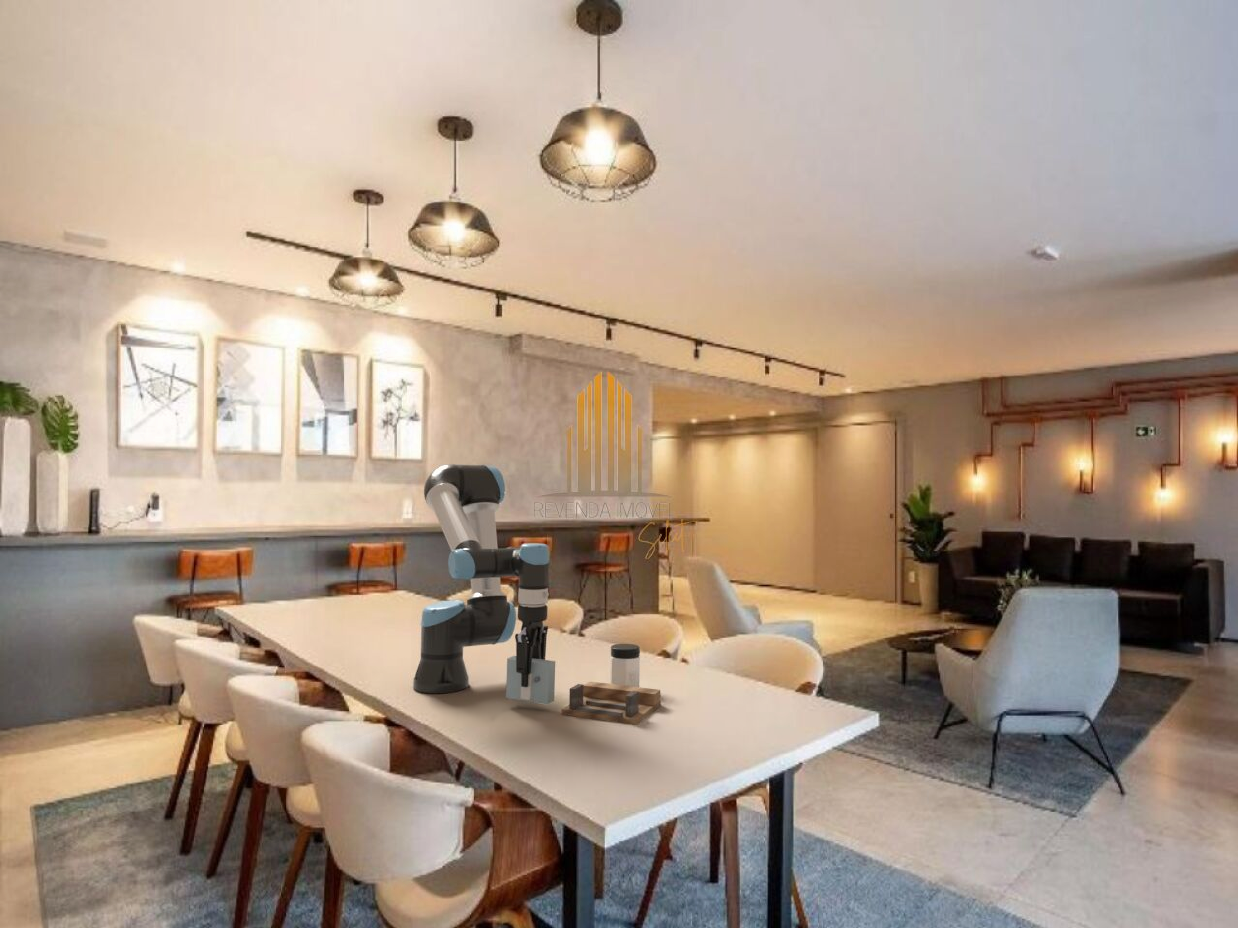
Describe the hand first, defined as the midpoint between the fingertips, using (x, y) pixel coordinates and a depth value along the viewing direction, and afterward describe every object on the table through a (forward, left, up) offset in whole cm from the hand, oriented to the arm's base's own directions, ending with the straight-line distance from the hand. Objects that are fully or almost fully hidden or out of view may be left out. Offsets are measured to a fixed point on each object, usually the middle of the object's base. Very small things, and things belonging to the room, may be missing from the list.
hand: (530, 696), depth 183 cm
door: (0, 0, -1) cm, 1 cm away
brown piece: (+20, +8, -3) cm, 21 cm away
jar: (+16, +27, -3) cm, 31 cm away
